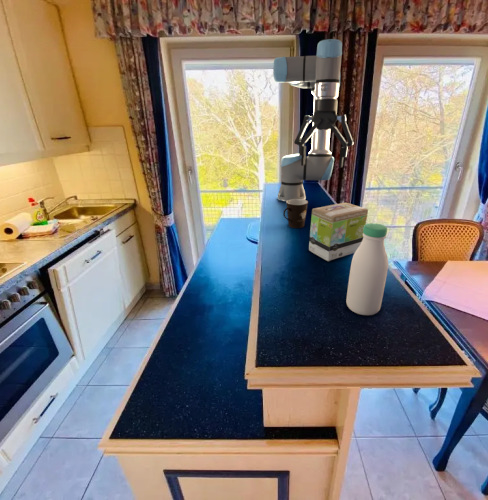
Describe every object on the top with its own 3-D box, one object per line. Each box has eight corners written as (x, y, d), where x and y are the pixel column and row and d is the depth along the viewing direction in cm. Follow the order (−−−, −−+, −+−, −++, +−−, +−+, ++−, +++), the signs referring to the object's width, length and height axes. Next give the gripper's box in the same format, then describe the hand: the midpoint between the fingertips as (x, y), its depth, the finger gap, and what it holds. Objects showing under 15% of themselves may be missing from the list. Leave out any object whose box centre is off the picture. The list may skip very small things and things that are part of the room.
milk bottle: (382, 318, 62) (400, 234, 53) (347, 314, 63) (358, 232, 54) (377, 298, 69) (391, 220, 60) (344, 295, 70) (354, 219, 61)
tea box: (329, 262, 85) (333, 216, 79) (308, 251, 93) (310, 208, 87) (362, 251, 93) (369, 208, 86) (340, 241, 100) (345, 200, 94)
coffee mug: (301, 220, 120) (301, 198, 116) (310, 227, 113) (311, 203, 109) (276, 224, 117) (276, 201, 113) (284, 231, 110) (284, 206, 105)
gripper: (286, 99, 92) (285, 165, 101) (364, 96, 83) (356, 169, 92) (293, 100, 98) (291, 162, 108) (367, 98, 90) (358, 166, 99)
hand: (321, 166), depth 100 cm, fingers open, 13 cm apart
